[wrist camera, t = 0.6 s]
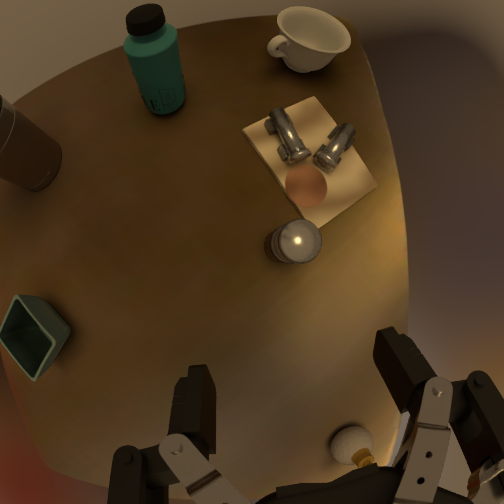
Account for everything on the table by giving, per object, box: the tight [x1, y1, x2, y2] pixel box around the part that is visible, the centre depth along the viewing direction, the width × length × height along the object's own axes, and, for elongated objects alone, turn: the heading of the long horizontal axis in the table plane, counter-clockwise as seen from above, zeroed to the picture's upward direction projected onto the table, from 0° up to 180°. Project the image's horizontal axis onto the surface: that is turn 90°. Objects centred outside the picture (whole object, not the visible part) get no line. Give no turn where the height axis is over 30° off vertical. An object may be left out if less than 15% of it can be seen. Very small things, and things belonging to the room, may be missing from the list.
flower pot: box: [0, 294, 71, 382], centre depth 29 cm, size 9×9×9 cm
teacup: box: [267, 6, 351, 73], centre depth 35 cm, size 12×15×10 cm
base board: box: [242, 96, 378, 229], centre depth 39 cm, size 18×14×1 cm
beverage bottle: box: [123, 4, 185, 114], centre depth 27 cm, size 6×7×20 cm
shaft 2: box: [313, 123, 356, 172], centre depth 37 cm, size 8×4×4 cm, turn 144°
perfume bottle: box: [331, 426, 374, 468], centre depth 33 cm, size 8×10×12 cm
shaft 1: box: [264, 107, 312, 164], centre depth 36 cm, size 8×4×4 cm, turn 24°
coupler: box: [264, 219, 322, 263], centre depth 34 cm, size 5×5×10 cm
